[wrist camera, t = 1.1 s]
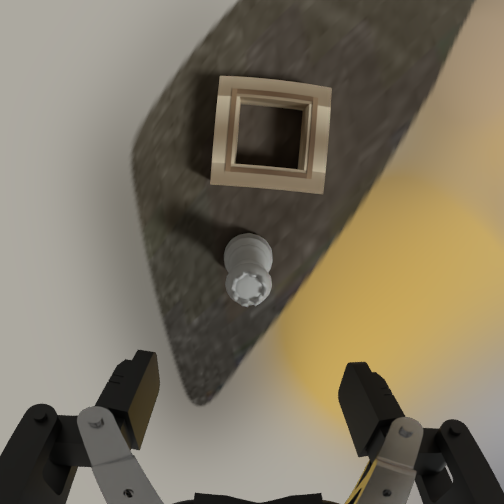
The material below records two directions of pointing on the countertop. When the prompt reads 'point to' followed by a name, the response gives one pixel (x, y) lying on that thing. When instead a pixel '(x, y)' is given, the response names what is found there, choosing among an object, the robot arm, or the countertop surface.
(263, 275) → the rook chess piece
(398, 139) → the countertop surface
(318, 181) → the socket block
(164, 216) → the countertop surface
